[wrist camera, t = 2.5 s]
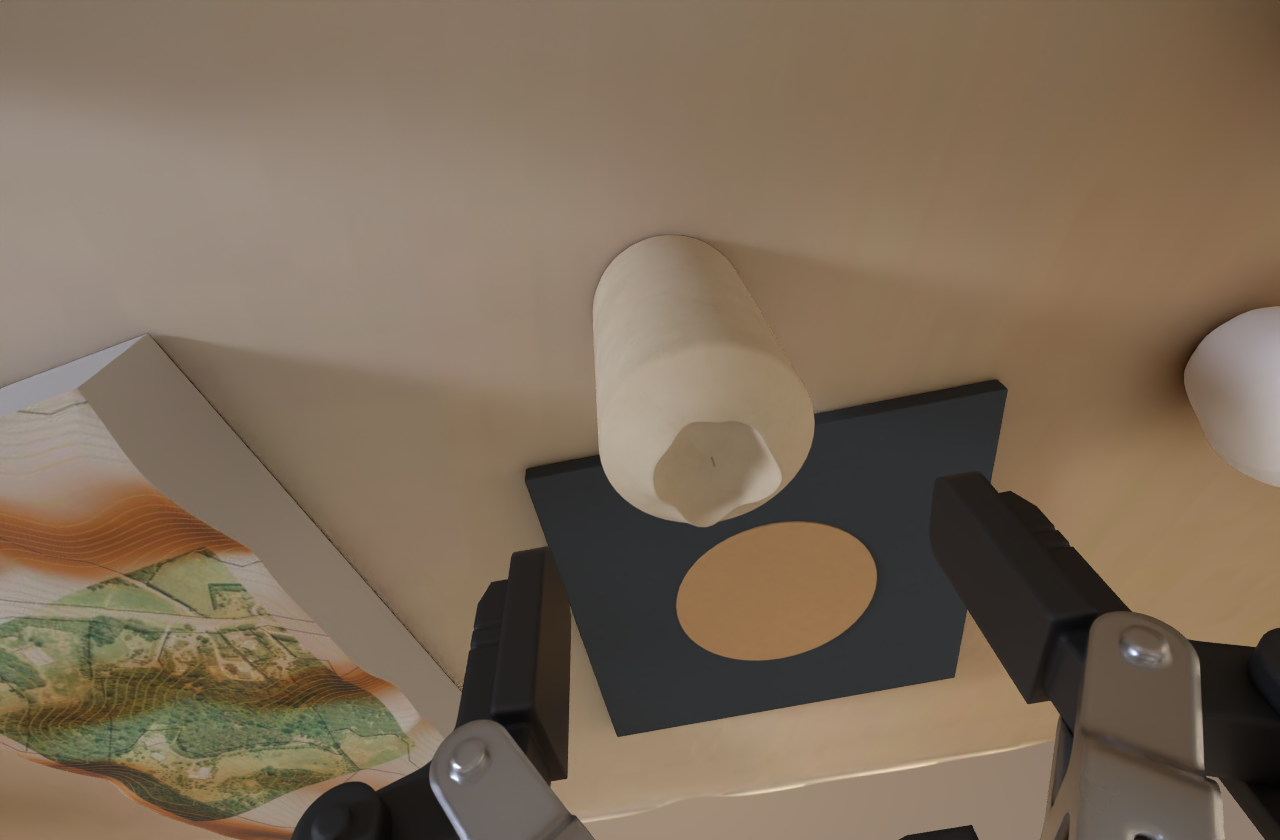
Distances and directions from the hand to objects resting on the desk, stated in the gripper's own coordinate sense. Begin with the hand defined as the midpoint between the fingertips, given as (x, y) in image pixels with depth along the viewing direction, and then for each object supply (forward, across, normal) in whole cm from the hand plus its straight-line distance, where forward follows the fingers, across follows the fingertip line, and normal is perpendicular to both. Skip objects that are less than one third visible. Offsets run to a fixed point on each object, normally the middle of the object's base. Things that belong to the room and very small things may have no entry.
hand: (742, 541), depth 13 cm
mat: (+12, -3, +16) cm, 20 cm away
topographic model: (+12, +23, +13) cm, 29 cm away
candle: (+12, 0, 0) cm, 12 cm away
